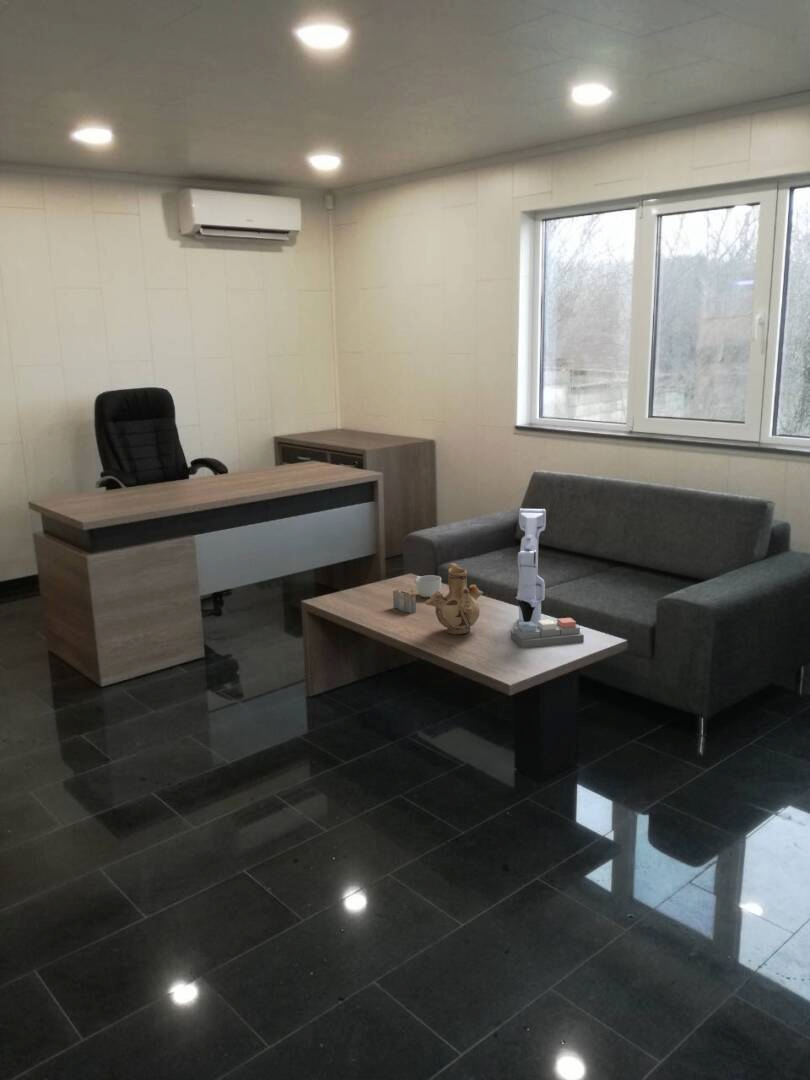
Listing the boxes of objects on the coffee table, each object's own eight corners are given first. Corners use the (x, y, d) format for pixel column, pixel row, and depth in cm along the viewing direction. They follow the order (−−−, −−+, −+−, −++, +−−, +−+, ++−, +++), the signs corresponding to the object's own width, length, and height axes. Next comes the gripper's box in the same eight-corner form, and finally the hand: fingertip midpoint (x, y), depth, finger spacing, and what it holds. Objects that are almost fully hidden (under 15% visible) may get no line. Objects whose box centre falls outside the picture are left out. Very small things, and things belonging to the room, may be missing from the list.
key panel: (510, 637, 310) (510, 625, 309) (569, 631, 315) (569, 619, 314) (522, 647, 299) (522, 635, 298) (583, 641, 304) (583, 629, 303)
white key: (537, 627, 308) (537, 620, 307) (550, 626, 309) (550, 619, 308) (542, 631, 303) (542, 624, 303) (556, 630, 304) (556, 623, 304)
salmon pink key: (557, 625, 309) (557, 618, 309) (570, 624, 310) (570, 617, 310) (562, 629, 305) (562, 622, 304) (575, 628, 306) (575, 621, 305)
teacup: (446, 597, 364) (446, 579, 362) (424, 601, 358) (424, 582, 357) (429, 590, 375) (429, 572, 374) (408, 593, 370) (407, 576, 369)
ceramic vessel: (424, 635, 314) (423, 569, 309) (446, 620, 331) (445, 558, 326) (470, 642, 306) (470, 574, 301) (490, 626, 323) (490, 562, 317)
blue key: (517, 629, 306) (517, 622, 306) (531, 627, 307) (531, 621, 307) (522, 633, 301) (522, 626, 301) (536, 632, 302) (536, 625, 302)
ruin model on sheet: (416, 613, 343) (416, 589, 341) (411, 614, 342) (410, 591, 340) (399, 607, 352) (398, 584, 350) (393, 608, 350) (393, 585, 348)
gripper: (509, 580, 307) (509, 616, 310) (524, 590, 293) (523, 628, 296) (528, 578, 308) (527, 614, 311) (543, 588, 294) (542, 626, 297)
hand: (527, 621), depth 304 cm, fingers closed
